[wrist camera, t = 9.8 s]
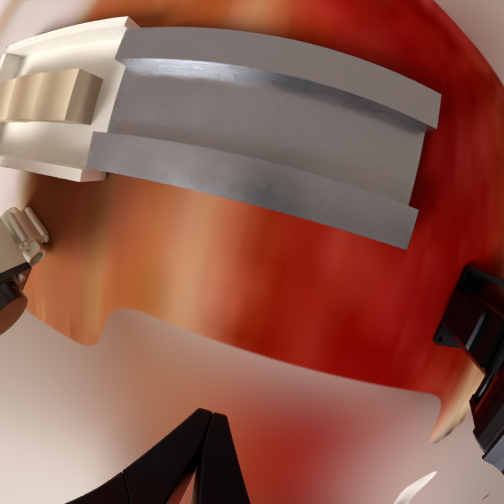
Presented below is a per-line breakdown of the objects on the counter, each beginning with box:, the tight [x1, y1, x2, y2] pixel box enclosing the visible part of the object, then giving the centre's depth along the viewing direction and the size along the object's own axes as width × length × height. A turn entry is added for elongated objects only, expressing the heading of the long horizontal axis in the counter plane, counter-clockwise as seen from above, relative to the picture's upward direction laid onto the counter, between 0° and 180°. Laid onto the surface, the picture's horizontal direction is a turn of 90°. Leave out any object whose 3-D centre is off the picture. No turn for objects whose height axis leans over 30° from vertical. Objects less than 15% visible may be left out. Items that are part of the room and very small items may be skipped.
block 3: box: [31, 68, 103, 125], centre depth 15 cm, size 4×4×3 cm
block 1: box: [0, 78, 28, 123], centre depth 15 cm, size 4×4×3 cm
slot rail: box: [86, 27, 441, 250], centre depth 15 cm, size 20×10×3 cm, turn 76°
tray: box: [0, 16, 141, 182], centre depth 15 cm, size 16×12×3 cm
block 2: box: [6, 72, 46, 122], centre depth 15 cm, size 4×4×3 cm
